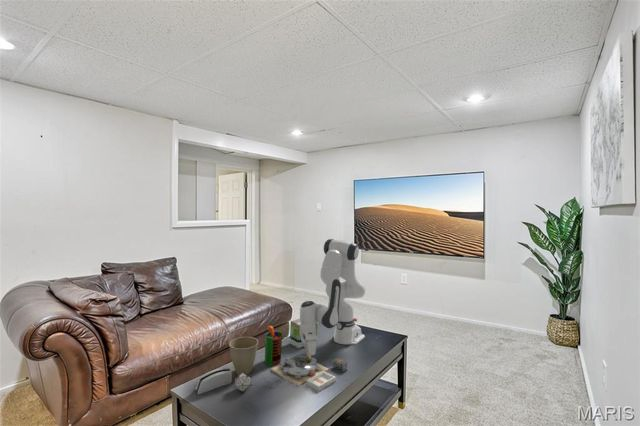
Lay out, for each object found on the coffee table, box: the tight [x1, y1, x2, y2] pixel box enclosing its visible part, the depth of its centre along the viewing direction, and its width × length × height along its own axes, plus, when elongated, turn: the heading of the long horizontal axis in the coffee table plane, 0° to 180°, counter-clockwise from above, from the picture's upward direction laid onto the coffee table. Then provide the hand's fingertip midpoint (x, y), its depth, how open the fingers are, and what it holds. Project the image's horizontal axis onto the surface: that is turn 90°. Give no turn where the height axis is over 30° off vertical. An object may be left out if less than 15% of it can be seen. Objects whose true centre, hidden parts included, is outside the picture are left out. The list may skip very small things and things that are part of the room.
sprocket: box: [279, 353, 321, 379], centre depth 176 cm, size 21×21×7 cm
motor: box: [264, 325, 283, 367], centre depth 186 cm, size 10×9×20 cm
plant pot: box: [228, 336, 259, 376], centre depth 174 cm, size 15×15×16 cm
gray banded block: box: [332, 357, 348, 373], centre depth 179 cm, size 4×7×4 cm, turn 42°
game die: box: [233, 371, 252, 394], centre depth 157 cm, size 9×8×10 cm
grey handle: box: [194, 367, 233, 395], centre depth 159 cm, size 17×5×10 cm, turn 131°
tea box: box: [289, 318, 318, 349], centre depth 212 cm, size 15×10×15 cm, turn 131°
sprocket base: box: [270, 362, 330, 387], centre depth 176 cm, size 22×22×1 cm
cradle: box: [305, 371, 337, 392], centre depth 164 cm, size 12×8×2 cm
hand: (307, 355), depth 183 cm, fingers closed
